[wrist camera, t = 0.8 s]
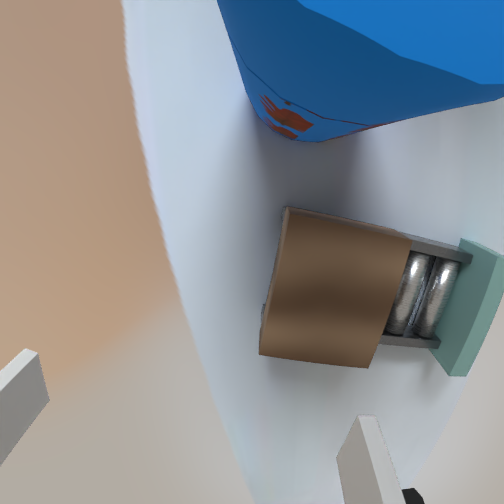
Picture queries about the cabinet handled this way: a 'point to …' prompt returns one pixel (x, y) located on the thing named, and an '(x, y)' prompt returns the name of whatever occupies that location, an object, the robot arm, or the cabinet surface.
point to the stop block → (469, 309)
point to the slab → (331, 289)
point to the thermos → (363, 60)
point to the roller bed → (410, 288)
